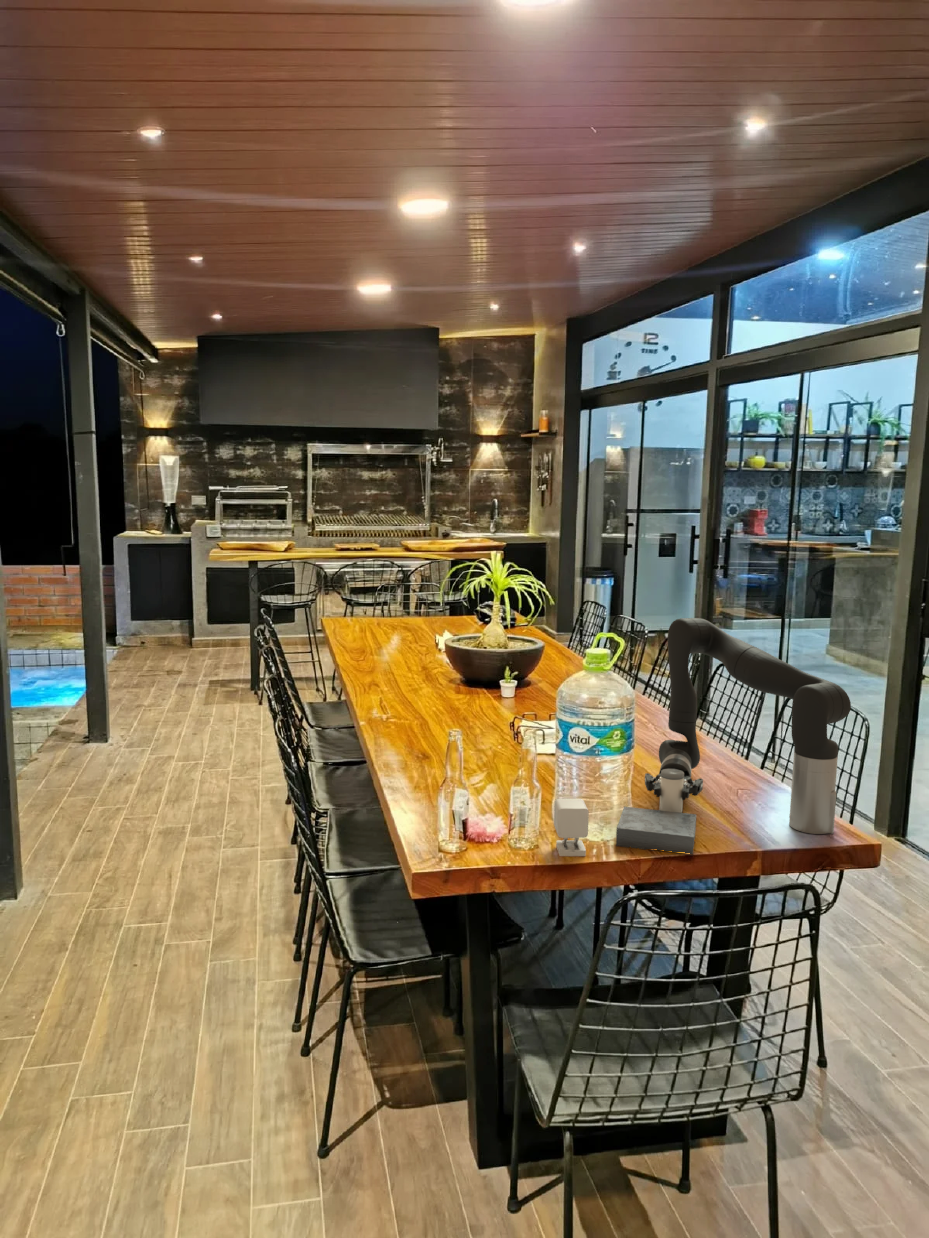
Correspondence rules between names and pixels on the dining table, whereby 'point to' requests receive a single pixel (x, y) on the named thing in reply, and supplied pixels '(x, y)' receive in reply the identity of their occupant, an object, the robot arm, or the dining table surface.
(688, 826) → the block
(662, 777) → the canister
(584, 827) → the security camera
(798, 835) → the dining table surface
